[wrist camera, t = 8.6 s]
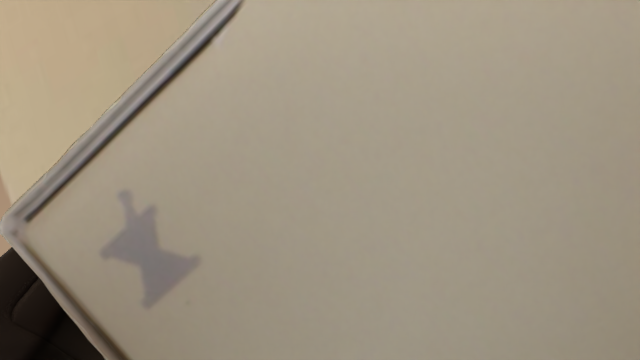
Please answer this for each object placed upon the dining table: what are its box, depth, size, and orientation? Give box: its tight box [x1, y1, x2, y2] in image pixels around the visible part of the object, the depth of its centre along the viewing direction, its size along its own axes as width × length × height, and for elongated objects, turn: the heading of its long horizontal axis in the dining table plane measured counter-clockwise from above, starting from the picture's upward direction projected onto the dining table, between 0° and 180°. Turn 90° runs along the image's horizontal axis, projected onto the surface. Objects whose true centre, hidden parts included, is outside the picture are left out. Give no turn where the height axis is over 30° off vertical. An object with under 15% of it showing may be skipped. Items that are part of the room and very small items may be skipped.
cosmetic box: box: [0, 0, 640, 360], centre depth 9 cm, size 6×4×12 cm
